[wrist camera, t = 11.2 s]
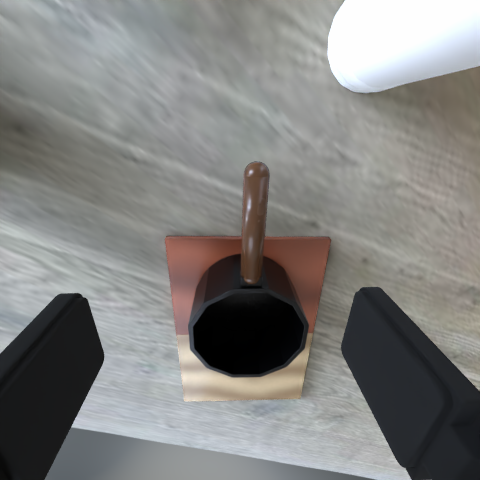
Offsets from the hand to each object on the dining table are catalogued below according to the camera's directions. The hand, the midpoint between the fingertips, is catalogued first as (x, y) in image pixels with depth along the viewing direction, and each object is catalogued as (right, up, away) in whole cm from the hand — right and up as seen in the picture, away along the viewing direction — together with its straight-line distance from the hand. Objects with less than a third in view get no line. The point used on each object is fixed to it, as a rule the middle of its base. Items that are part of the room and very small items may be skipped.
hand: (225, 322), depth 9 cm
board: (+1, -10, +26) cm, 28 cm away
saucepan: (+1, +1, +20) cm, 20 cm away
